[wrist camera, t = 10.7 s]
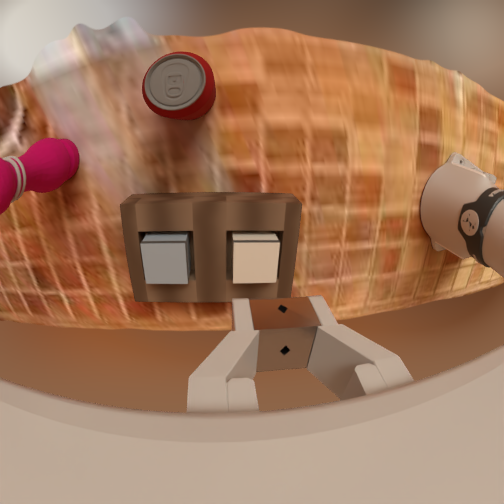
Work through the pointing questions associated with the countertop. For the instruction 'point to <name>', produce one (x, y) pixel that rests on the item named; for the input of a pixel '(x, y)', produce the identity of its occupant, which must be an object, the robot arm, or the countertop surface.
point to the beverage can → (179, 86)
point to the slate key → (166, 257)
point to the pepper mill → (37, 169)
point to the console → (211, 241)
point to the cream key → (254, 256)
